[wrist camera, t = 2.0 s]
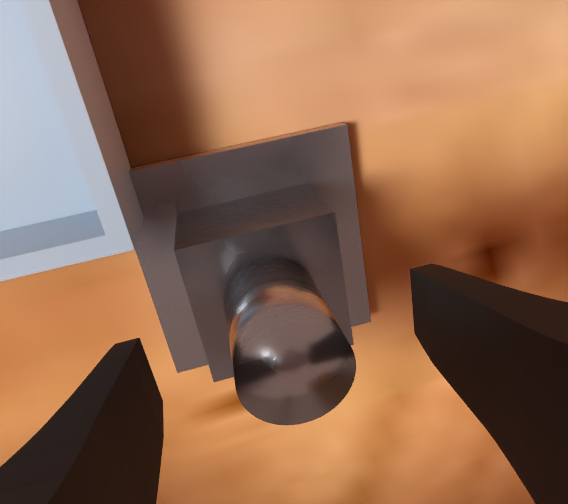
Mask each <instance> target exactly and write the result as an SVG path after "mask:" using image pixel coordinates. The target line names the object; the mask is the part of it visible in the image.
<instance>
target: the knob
mask: <svg viewBox="0 0 568 504" xmlns="http://www.w3.org/2000/svg"><path fill="white" fill-rule="evenodd" d="M174 252H175V256H176V259H177V262H178V266H179V269H180V272H181V275H182V279H183V282H184V285H185V289H186V292H187V295H188V298H189V302H190V305H191V308H192V312H193V315H194V318H195V321H196V325H197V328H198V331H199V335H200V338H201V341H202V344H203V348H204V351H205V354H206V358H207V361H208V364H209V367H210V371H211V374H212V377H213V381H214V382H217V381H220V380H224V379H228V378H231V377H234V379H235V386H236V391H237V395H238V397H239V400H240V401H241V403H242V405H243V406H244V407H245V408H246V410H247V411H249V412H250V413H251V414H252V415H254V416H255V417H257V418H258V419H261V420H263V421H265V422H268V423H272V424H277V425H295V424H301V423H306V422H309V421H312V420H315V419H317V418H319V417H321V416H323V415H325V414H326V413H328V412H329V411H331V410H332V409H333V408H335V407H336V406H337V405H338V404H339V403H340V402H341V401H342V400H343V399H344V397H345V396H346V394H347V393H348V391H349V390H350V388H351V386H352V383H353V381H354V377H355V372H356V360H355V355H354V352H353V350H352V348H351V346H350V345H354V344H353V337H352V330H351V323H350V316H349V309H348V301H347V294H346V287H345V280H344V273H343V266H342V259H341V252H340V245H339V238H338V231H337V223H336V216H335V212H334V211H333V210H332V209H331V208H330V207H329V206H328V204H327V203H326V202H325V201H324V200H323V199H322V198H321V197H320V196H319V195H318V194H317V193H316V192H315V191H314V190H313V189H312V188H311V187H310V186H309V185H308V184H307V183H306V184H302V185H298V186H293V187H289V188H285V189H280V190H276V191H272V192H267V193H263V194H259V195H254V196H250V197H246V198H241V199H237V200H232V201H228V202H224V203H219V204H215V205H211V206H206V207H202V208H198V209H193V210H189V211H185V212H180V213H177V218H176V231H175V243H174Z"/></svg>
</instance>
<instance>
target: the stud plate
mask: <svg viewBox="0 0 568 504" xmlns="http://www.w3.org/2000/svg"><path fill="white" fill-rule="evenodd" d="M129 174H130V177H131V180H132V183H133V186H134V189H135V192H136V195H137V199H138V202H139V205H140V208H141V211H142V214H143V217H144V219H143V222H142V226H141V229H140V233H139V236H138V239H137V243H136V246H135V250H136V253H137V256H138V259H139V262H140V265H141V268H142V270H143V273H144V276H145V279H146V282H147V285H148V288H149V291H150V294H151V297H152V300H153V303H154V306H155V308H156V311H157V314H158V317H159V320H160V323H161V326H162V329H163V332H164V335H165V338H166V341H167V344H168V346H169V349H170V352H171V355H172V358H173V361H174V364H175V367H176V370H177V373H179V372H182V371H186V370H190V369H194V368H198V367H201V366H205V365H209V364H208V361H207V358H206V354H205V351H204V348H203V344H202V341H201V338H200V335H199V331H198V328H197V325H196V321H195V318H194V315H193V312H192V308H191V305H190V302H189V298H188V295H187V292H186V289H185V285H184V282H183V279H182V275H181V272H180V269H179V266H178V262H177V259H176V256H175V252H174V243H175V231H176V218H177V213H180V212H185V211H189V210H193V209H198V208H202V207H206V206H211V205H215V204H219V203H224V202H228V201H232V200H237V199H241V198H246V197H250V196H254V195H259V194H263V193H267V192H272V191H276V190H280V189H285V188H289V187H293V186H298V185H302V184H306V183H307V184H308V185H309V186H310V187H311V188H312V189H313V190H314V191H315V192H316V193H317V194H318V195H319V196H320V197H321V198H322V199H323V200H324V201H325V202H326V203H327V204H328V206H329V207H330V208H331V209H332V210H333V211H334V212H335V216H336V223H337V231H338V238H339V245H340V252H341V259H342V266H343V273H344V280H345V287H346V294H347V301H348V309H349V316H350V323H351V327H352V326H356V325H360V324H363V323H367V322H371V318H370V309H369V301H368V293H367V284H366V276H365V268H364V259H363V251H362V242H361V234H360V226H359V217H358V209H357V201H356V192H355V184H354V175H353V167H352V159H351V150H350V142H349V133H348V125H347V124H345V123H343V122H341V123H336V124H331V125H327V126H322V127H318V128H313V129H308V130H304V131H299V132H295V133H290V134H285V135H281V136H276V137H272V138H267V139H262V140H258V141H253V142H249V143H244V144H239V145H235V146H230V147H226V148H221V149H216V150H212V151H207V152H203V153H198V154H193V155H189V156H184V157H180V158H175V159H170V160H166V161H161V162H157V163H152V164H147V165H143V166H138V167H134V168H131V169H130V171H129Z"/></svg>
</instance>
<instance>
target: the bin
mask: <svg viewBox="0 0 568 504" xmlns="http://www.w3.org/2000/svg"><path fill="white" fill-rule="evenodd" d="M130 169H131V166H130V163H129V160H128V157H127V154H126V151H125V148H124V145H123V141H122V138H121V135H120V132H119V129H118V126H117V123H116V120H115V117H114V113H113V110H112V107H111V104H110V101H109V98H108V95H107V92H106V88H105V85H104V82H103V79H102V76H101V73H100V70H99V67H98V64H97V60H96V57H95V54H94V51H93V48H92V45H91V42H90V39H89V35H88V32H87V29H86V26H85V23H84V20H83V17H82V14H81V11H80V7H79V4H78V1H77V0H0V281H4V280H8V279H13V278H17V277H21V276H25V275H30V274H34V273H38V272H42V271H47V270H51V269H55V268H59V267H64V266H68V265H72V264H76V263H81V262H85V261H89V260H93V259H98V258H102V257H106V256H110V255H115V254H119V253H123V252H127V251H132V250H135V246H136V243H137V239H138V236H139V233H140V229H141V226H142V222H143V219H144V217H143V214H142V211H141V208H140V205H139V202H138V199H137V195H136V192H135V189H134V186H133V183H132V180H131V177H130V174H129V171H130Z"/></svg>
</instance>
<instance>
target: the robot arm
mask: <svg viewBox="0 0 568 504" xmlns="http://www.w3.org/2000/svg"><path fill="white" fill-rule="evenodd" d="M410 276H411V290H412V303H413V317H414V331H415V335H416V336H417V338H418V340H419V341H420V343H421V345H422V347H423V348H424V350H425V352H426V353H427V355H428V356H429V358H430V360H431V361H432V363H433V364H434V365H435V367H436V368H437V369H438V370H439V372H440V373H441V374H442V375H443V377H444V378H445V379H446V380H447V382H448V383H449V384H450V385H451V387H452V388H453V389H454V390H455V391H456V393H457V394H458V395H459V396H460V397H461V399H462V400H463V401H464V402H465V404H466V405H467V406H468V407H469V408H470V410H471V411H472V412H473V413H474V414H475V416H476V417H477V418H478V419H479V421H480V422H481V423H482V424H483V425H484V427H485V428H486V429H487V431H488V432H489V433H490V435H491V436H492V437H493V439H494V440H495V441H496V443H497V444H498V446H499V447H500V449H501V450H502V452H503V453H504V455H505V456H506V458H507V459H508V461H509V462H510V464H511V465H512V467H513V469H514V470H515V472H516V473H517V475H518V476H519V478H520V479H521V481H522V482H523V484H524V486H525V487H526V489H527V490H528V492H529V494H530V495H531V497H532V498H533V500H534V502H535V503H536V504H568V302H563V301H558V300H554V299H550V298H545V297H541V296H538V295H534V294H530V293H526V292H523V291H519V290H516V289H512V288H509V287H505V286H502V285H499V284H496V283H493V282H490V281H486V280H483V279H480V278H477V277H474V276H471V275H468V274H465V273H462V272H459V271H456V270H453V269H450V268H446V267H443V266H439V265H435V264H429V265H425V266H421V267H417V268H413V269H410ZM163 437H164V433H163V400H162V397H161V395H160V392H159V389H158V387H157V384H156V381H155V379H154V376H153V373H152V370H151V368H150V365H149V362H148V360H147V357H146V354H145V352H144V349H143V346H142V343H141V341H140V338H137V339H133V340H129V341H125V342H121V343H117V344H115V345H114V346H113V347H112V348H111V349H110V350H109V351H108V352H107V353H106V355H105V356H104V357H103V358H102V359H101V361H100V362H99V363H98V364H97V365H96V367H95V368H94V369H93V370H92V372H91V373H90V374H89V375H88V376H87V378H86V379H85V380H84V381H83V382H82V384H81V385H80V386H79V387H78V388H77V390H76V391H75V392H74V393H73V394H72V395H71V397H70V398H69V399H68V400H67V401H66V402H65V403H64V404H63V405H62V406H61V408H60V409H59V410H58V411H57V412H56V413H55V414H54V415H53V416H52V417H51V418H50V420H49V421H48V422H47V423H46V424H45V425H44V426H43V427H42V428H41V429H40V430H39V431H38V432H37V433H36V434H35V435H34V436H33V437H32V438H31V439H30V440H29V441H28V442H27V443H26V444H25V445H24V446H23V447H22V448H21V449H20V450H19V451H17V452H16V453H15V454H14V455H13V456H12V457H11V458H10V459H9V460H8V461H7V462H5V463H4V464H3V465H2V466H1V467H0V504H156V500H157V491H158V483H159V474H160V465H161V456H162V447H163Z"/></svg>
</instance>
